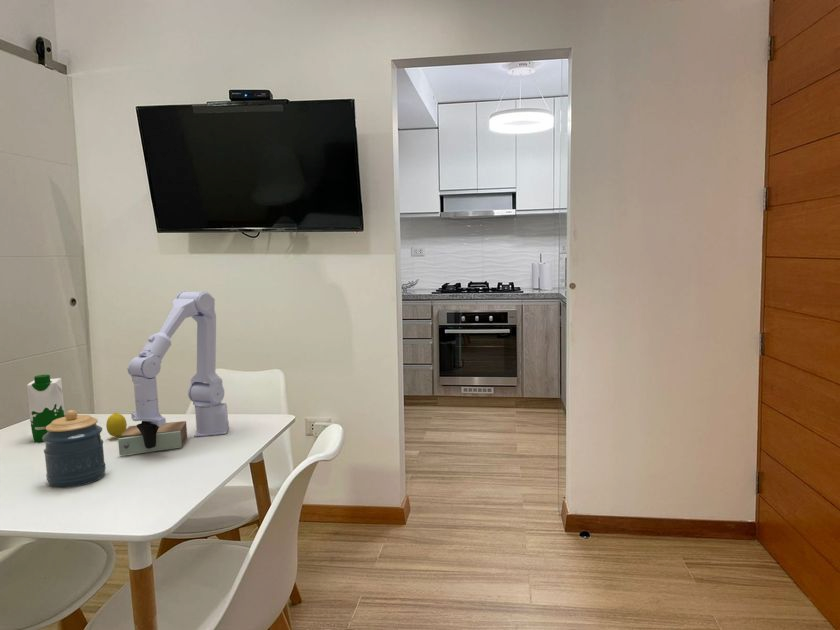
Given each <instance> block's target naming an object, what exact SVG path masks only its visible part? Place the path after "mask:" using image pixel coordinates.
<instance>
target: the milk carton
mask: <svg viewBox="0 0 840 630" xmlns="http://www.w3.org/2000/svg"><path fill="white" fill-rule="evenodd" d="M62 382H63V381H62V378H61V377H59V378H51V375H50V374H39V375H35V376H34V379H33V381H30V382H29V383H28V384H26V391H27V392H26V393H27V400H28V403H27V404H28V411H29V419H30V428H31V434H32V439H33V443H35V444H36V443H45V441H43V439H42V437H43V436H44V435H45V434H46V433H47V432H48V431H47V430H46V429H45V428H46V426H47V425H49V424H50V423H51V422H52V421H53V420H56V419H58V418H62V417H65V414H66V411H65V410H66V409H65V401H64V393H63V390H64V389H63V383H62Z"/></svg>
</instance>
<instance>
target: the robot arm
mask: <svg viewBox="0 0 840 630" xmlns="http://www.w3.org/2000/svg"><path fill="white" fill-rule="evenodd" d="M215 306H216V305H215V298H214V297H213V296H212V294H210V293H209V292H208V291H182V290H181V291H180V292H179V293H177V294H176V297H175V298H174V299H173V300H172V309H171V310H170V312H169V313H168V316H167V317H166V319H165V320H164V323H163V324H162V327H160V330H159V332H156V333H153V334H152V335H150V336H148V338H147V342H146V343H145V345H144V346H143V348H142V350H140V352H139V353H138V356H135V357H133V358H132V359H131V360H130V362H129V364H128V367H127V368H126V371H127V373H128V374H129V375H130V377H131V381H132V383H133V390H134V401H135V402H134V403H135V411H132V412H130V414H131V420H132V421H133V422H141V423H138V424H136V425H137V428H138V429H139V430H140V432H141V434H142V436H143V439H144V444H145V447H146V448H148V449H150V448H153V447H155V446H156V434H157V431H158V428H159V426H163V425H166V423H167V420H166V417H163V415H162V414H161V412H160V410H159V409H160V408H159V396H158V386H157V385H158V384H157V382H158V381H157V375H159V373H160V372H161V366H162V362H163V359H164V357H165V355H166V354H167V352H168V350H169V349H170V347H171V346H172V341H171V338H172V337H173V336H174V334H175V333H176V332H177V330H178V329H179V327H180V326H181V325H182V323H183V322H184V321H185V320H186V319H187V318H192V319H193V320H194V321H195V322H196V326H197V328H196V373H195V374H194V375H193V376H192V377H191V378H190V385H189V388H188V391H187V396H188V398H189V400H190V401H191V402H192V405H194V410H195V411H194V412H195V424H196V425H195V426H196V429H195V432H194V434H193V436H194V437H197V438H198V437H208V436H215V435H216V436H217V435H225V434H228V431H229V426H230V423H229V422H230V421H229V417H228V416H229V415H228V414H229V413H228V405H227V403H226V402H222V401H223V399H224V397H225V388H224V386H223V379H222V378H221V377H220V376H219V375H218V374H217V373H216V366H217V365H216V364H217V363H216V359H217V357H216V354H217V353H216V352H217V349H216V348H217V339H216V338H217V315H216V312H215V311H216V310H215Z"/></svg>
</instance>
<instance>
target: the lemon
mask: <svg viewBox="0 0 840 630" xmlns="http://www.w3.org/2000/svg"><path fill="white" fill-rule="evenodd" d="M105 427H106V431H107V433H108V434H109V435H110V436H112V437H114V438H116V439H119V438H120V436H121V435H122V433H123V432H124V431H125V430H126V429H127V428H128V424H127V420H126V418H125V416H124V415H123V414H121V413H118V412H114V413H113V414H111V415H109V417H108V418H107V419H106V426H105Z"/></svg>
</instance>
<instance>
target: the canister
mask: <svg viewBox="0 0 840 630" xmlns="http://www.w3.org/2000/svg"><path fill="white" fill-rule="evenodd" d="M97 423H99V421H98V419H97V418H96V417H94V416H92V415H89V414H78V412H77V411H76V410H75V409H69V410H67V411H65V417H62V418H58V419H56V420H53V421H52V422H51V423H50V424H49V425H47V426H46V428H45V429H46V430H47V431H48V432H47V433H46V434H45V435H44V436H43V437H42V439H43V441H45V442H44V443H45V448H44V449H43V453H44V460H45V469H46V474H45V477H46V481H47V484H48V486H49V487H52V488H58V489H59V488H61V489H62V488H63V489H64V488H74V487H79V486H84V485H87V484H91V483H93V482H96V481H98V480H100V479H102V478H103V477H104V476H105V475H106V468H107V467H106V463H105V454H104V440H103V438H102V436H101V432H103V428H102V427H101V426H100V425H97Z"/></svg>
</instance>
